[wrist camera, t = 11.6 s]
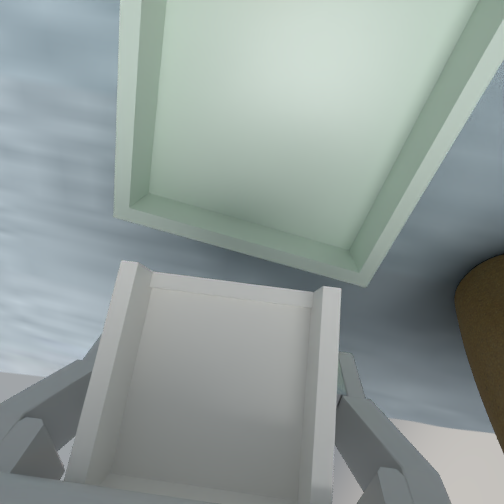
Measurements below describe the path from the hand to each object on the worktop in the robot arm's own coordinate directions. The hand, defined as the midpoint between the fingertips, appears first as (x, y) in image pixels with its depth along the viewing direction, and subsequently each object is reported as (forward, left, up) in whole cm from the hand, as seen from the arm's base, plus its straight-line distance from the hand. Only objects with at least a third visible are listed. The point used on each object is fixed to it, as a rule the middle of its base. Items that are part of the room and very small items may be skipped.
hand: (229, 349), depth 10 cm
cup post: (-1, +4, -3) cm, 5 cm away
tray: (0, -8, -14) cm, 16 cm away
